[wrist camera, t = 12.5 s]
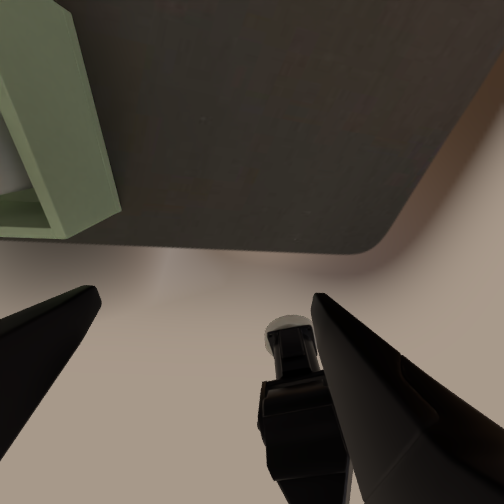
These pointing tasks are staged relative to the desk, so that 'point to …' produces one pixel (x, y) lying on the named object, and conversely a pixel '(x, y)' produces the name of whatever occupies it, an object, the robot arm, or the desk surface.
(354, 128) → the desk surface
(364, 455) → the robot arm
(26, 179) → the beverage can
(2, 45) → the bin
